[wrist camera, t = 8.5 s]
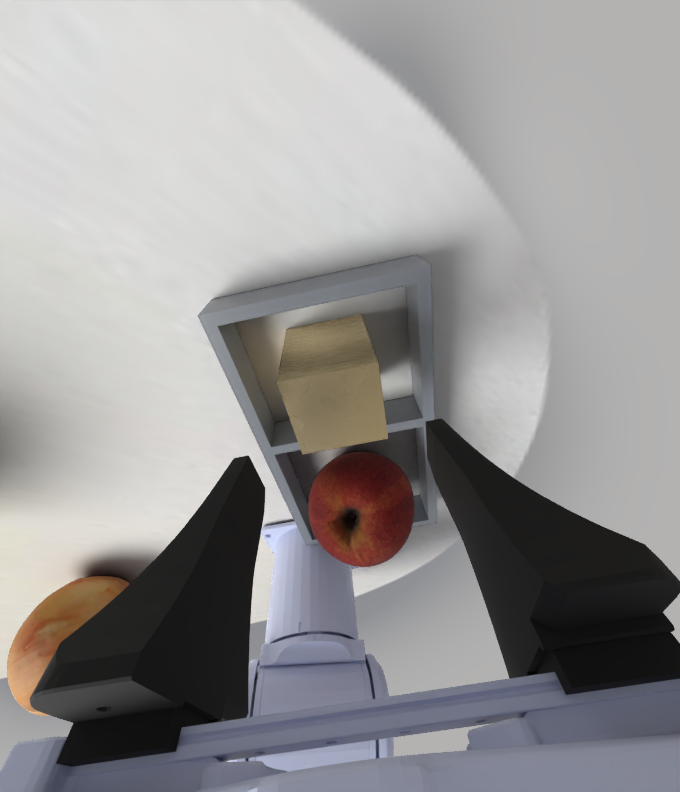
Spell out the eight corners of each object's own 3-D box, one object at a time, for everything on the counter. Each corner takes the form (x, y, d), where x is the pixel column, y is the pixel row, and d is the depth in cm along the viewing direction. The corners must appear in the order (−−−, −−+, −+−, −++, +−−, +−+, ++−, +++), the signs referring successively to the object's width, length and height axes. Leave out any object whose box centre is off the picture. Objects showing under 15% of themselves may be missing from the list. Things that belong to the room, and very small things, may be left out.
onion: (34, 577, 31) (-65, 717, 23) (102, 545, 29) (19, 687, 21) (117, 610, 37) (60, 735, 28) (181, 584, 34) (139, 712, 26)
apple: (391, 418, 23) (422, 513, 16) (408, 484, 27) (439, 580, 21) (296, 444, 24) (289, 545, 17) (328, 504, 28) (332, 603, 22)
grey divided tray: (428, 498, 29) (437, 523, 27) (306, 520, 29) (306, 546, 27) (416, 254, 17) (431, 264, 15) (211, 299, 17) (197, 315, 15)
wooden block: (370, 378, 21) (388, 438, 16) (304, 390, 21) (302, 454, 16) (360, 314, 18) (378, 362, 13) (286, 329, 19) (276, 382, 14)
